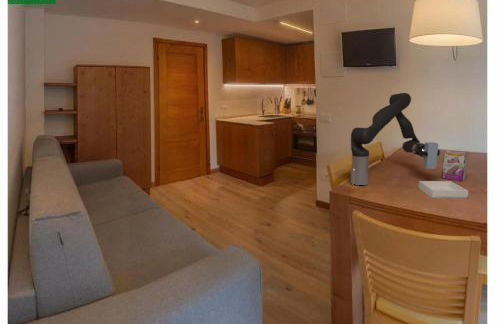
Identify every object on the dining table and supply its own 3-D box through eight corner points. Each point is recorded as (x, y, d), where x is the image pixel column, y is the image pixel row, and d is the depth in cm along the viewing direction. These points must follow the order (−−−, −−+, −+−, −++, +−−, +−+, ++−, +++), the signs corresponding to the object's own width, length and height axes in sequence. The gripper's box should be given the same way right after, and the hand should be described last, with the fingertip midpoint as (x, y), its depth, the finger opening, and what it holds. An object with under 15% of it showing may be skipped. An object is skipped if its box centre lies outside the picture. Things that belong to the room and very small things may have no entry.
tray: (432, 198, 154) (432, 190, 153) (418, 188, 172) (419, 181, 171) (467, 198, 152) (468, 190, 151) (450, 188, 169) (450, 181, 168)
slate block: (426, 168, 174) (428, 143, 171) (423, 166, 179) (424, 142, 176) (436, 168, 173) (438, 143, 170) (432, 166, 178) (434, 142, 175)
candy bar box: (441, 178, 188) (443, 152, 185) (444, 177, 192) (446, 150, 188) (462, 181, 180) (465, 154, 177) (465, 180, 183) (468, 152, 180)
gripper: (408, 143, 189) (419, 147, 172) (434, 143, 186) (447, 147, 170) (407, 155, 190) (418, 161, 174) (433, 155, 188) (446, 161, 171)
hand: (432, 154), depth 172 cm, fingers closed on slate block, 5 cm apart
